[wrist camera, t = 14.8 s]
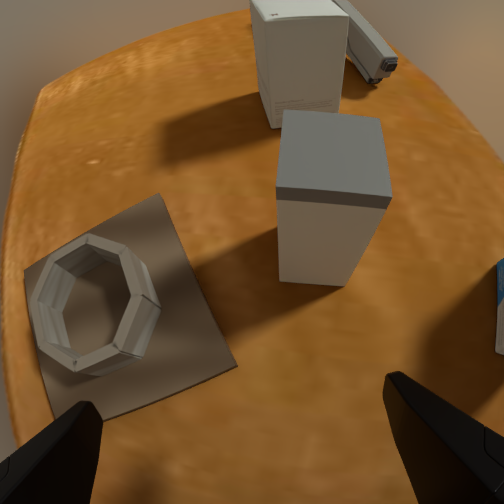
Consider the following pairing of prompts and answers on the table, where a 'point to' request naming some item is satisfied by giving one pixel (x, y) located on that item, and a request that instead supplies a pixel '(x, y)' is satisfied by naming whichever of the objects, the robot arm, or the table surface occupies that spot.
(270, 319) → the table surface
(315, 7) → the supplement box
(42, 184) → the table surface
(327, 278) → the link block
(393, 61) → the gun
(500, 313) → the ink box
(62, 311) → the ring stand
